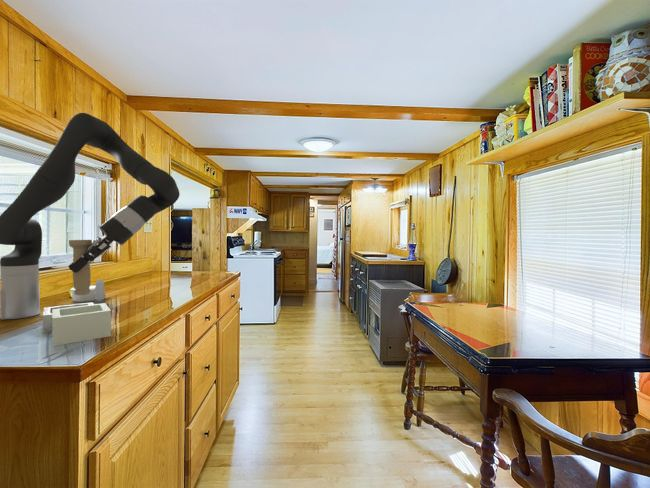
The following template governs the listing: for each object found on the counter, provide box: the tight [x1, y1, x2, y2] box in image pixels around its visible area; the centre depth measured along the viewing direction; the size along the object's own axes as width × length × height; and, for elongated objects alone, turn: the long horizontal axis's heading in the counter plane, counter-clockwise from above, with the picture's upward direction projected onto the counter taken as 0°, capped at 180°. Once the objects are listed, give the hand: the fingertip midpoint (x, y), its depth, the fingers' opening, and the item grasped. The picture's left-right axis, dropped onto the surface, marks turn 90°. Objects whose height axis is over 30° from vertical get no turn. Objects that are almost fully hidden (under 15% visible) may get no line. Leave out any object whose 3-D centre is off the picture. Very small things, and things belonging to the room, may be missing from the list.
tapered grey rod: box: [93, 279, 106, 304], centre depth 116 cm, size 3×25×15 cm, turn 36°
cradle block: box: [52, 302, 112, 347], centre depth 85 cm, size 12×12×7 cm
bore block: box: [42, 301, 94, 334], centre depth 95 cm, size 12×12×5 cm
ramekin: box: [70, 284, 96, 303], centre depth 131 cm, size 11×11×5 cm
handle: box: [68, 239, 93, 295], centre depth 85 cm, size 5×6×15 cm
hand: (72, 269), depth 84 cm, fingers closed on handle, 3 cm apart
